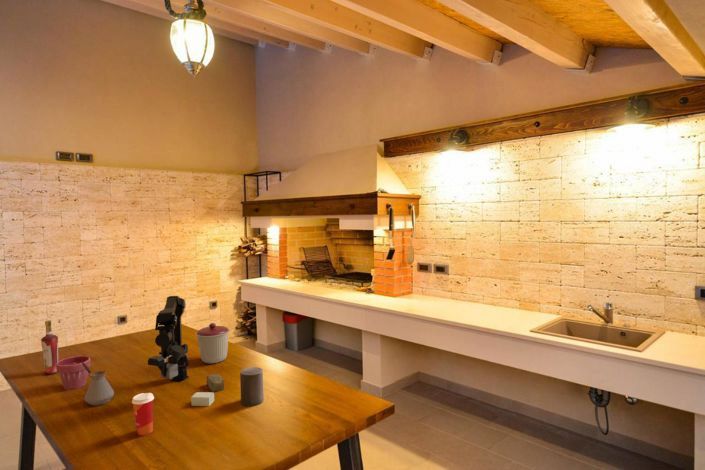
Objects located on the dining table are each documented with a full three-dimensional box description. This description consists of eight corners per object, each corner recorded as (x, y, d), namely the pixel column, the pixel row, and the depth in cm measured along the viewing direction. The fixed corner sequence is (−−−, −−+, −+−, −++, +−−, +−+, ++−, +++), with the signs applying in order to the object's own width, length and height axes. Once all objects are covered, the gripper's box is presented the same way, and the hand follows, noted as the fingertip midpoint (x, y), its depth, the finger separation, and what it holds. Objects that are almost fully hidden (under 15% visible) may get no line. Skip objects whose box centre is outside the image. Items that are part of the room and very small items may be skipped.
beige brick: (191, 406, 190) (191, 397, 189) (197, 401, 195) (196, 392, 194) (209, 406, 189) (208, 397, 188) (214, 401, 194) (213, 392, 193)
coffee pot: (119, 399, 198) (117, 367, 196) (91, 409, 188) (89, 375, 187) (97, 389, 210) (95, 358, 209) (71, 398, 201) (68, 365, 200)
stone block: (212, 393, 202) (212, 382, 201) (206, 385, 211) (205, 375, 211) (225, 390, 205) (224, 379, 205) (218, 382, 215) (217, 372, 214)
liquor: (40, 374, 232) (36, 322, 230) (54, 369, 238) (50, 318, 236) (49, 376, 229) (45, 323, 227) (63, 371, 236) (59, 319, 234)
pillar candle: (244, 408, 185) (242, 373, 184) (238, 399, 194) (237, 366, 193) (266, 403, 190) (265, 369, 189) (260, 394, 199) (259, 362, 198)
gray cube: (161, 377, 196) (160, 366, 196) (169, 373, 201) (168, 362, 200) (169, 379, 194) (169, 368, 194) (178, 374, 199) (177, 364, 198)
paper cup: (138, 427, 172) (136, 392, 171) (159, 426, 172) (156, 391, 171) (130, 438, 164) (127, 401, 163) (151, 436, 165) (149, 400, 164)
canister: (238, 358, 248) (236, 321, 246) (212, 368, 233) (210, 329, 231) (216, 353, 258) (214, 317, 256) (190, 362, 242) (187, 325, 241)
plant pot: (96, 385, 215) (94, 359, 214) (62, 394, 205) (60, 367, 204) (86, 377, 225) (85, 353, 224) (54, 386, 215) (52, 361, 214)
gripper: (166, 348, 185) (168, 384, 186) (196, 335, 202) (198, 368, 203) (145, 345, 189) (147, 381, 190) (177, 333, 206) (179, 366, 207)
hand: (169, 374), depth 197 cm, fingers closed on gray cube, 5 cm apart
